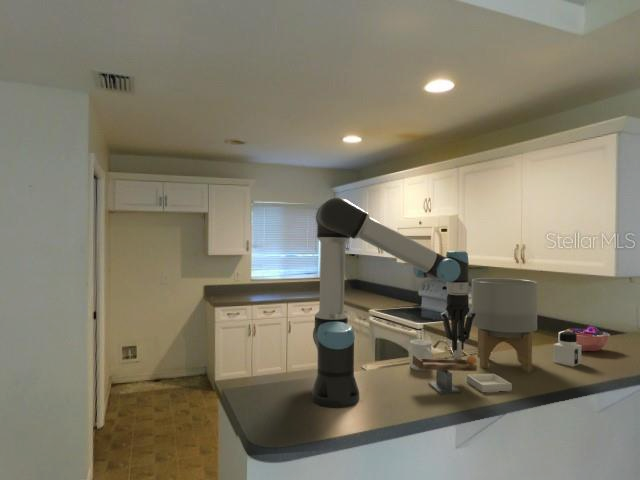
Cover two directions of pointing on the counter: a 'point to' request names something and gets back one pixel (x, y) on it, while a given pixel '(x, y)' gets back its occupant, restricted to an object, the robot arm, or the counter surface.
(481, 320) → the planter
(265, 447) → the counter surface
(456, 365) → the plank
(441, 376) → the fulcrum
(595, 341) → the cell model
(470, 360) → the ball
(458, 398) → the counter surface
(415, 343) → the mug
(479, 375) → the dish
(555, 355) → the container
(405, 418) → the counter surface
